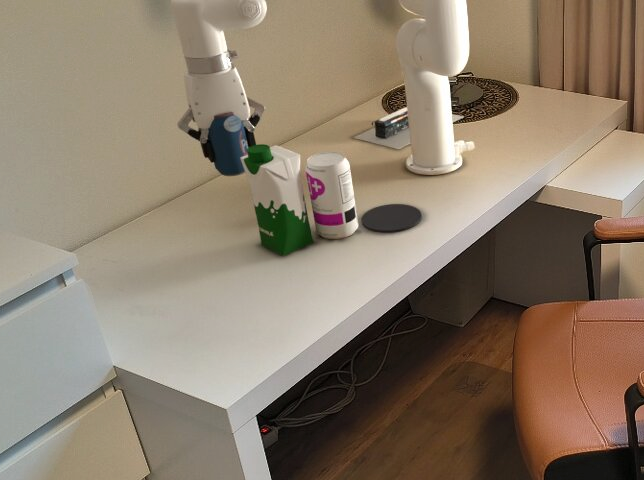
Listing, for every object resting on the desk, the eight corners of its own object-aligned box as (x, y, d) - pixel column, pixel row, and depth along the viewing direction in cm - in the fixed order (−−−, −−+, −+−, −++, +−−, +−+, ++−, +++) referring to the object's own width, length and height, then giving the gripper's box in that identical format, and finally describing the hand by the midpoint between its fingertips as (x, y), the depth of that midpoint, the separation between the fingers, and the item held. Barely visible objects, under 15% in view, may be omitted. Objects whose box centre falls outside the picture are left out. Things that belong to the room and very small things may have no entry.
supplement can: (327, 244, 173) (315, 171, 165) (309, 229, 179) (296, 157, 171) (366, 232, 177) (355, 160, 169) (347, 217, 183) (336, 147, 175)
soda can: (258, 171, 174) (244, 111, 167) (222, 181, 171) (206, 119, 164) (247, 159, 179) (233, 100, 172) (212, 168, 176) (196, 109, 169)
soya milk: (254, 245, 174) (232, 146, 163) (294, 229, 179) (275, 132, 168) (281, 259, 169) (261, 158, 158) (321, 242, 174) (303, 143, 163)
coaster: (407, 201, 189) (407, 199, 188) (431, 222, 180) (431, 220, 180) (352, 215, 184) (352, 213, 183) (375, 238, 175) (374, 235, 175)
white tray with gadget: (353, 137, 220) (350, 120, 217) (420, 106, 237) (418, 90, 234) (398, 149, 213) (396, 131, 210) (464, 116, 230) (463, 100, 227)
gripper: (250, 48, 169) (270, 138, 179) (154, 66, 162) (180, 159, 172) (261, 58, 164) (281, 150, 174) (163, 77, 157) (189, 173, 167)
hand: (231, 154), depth 173 cm, fingers closed on soda can, 7 cm apart
